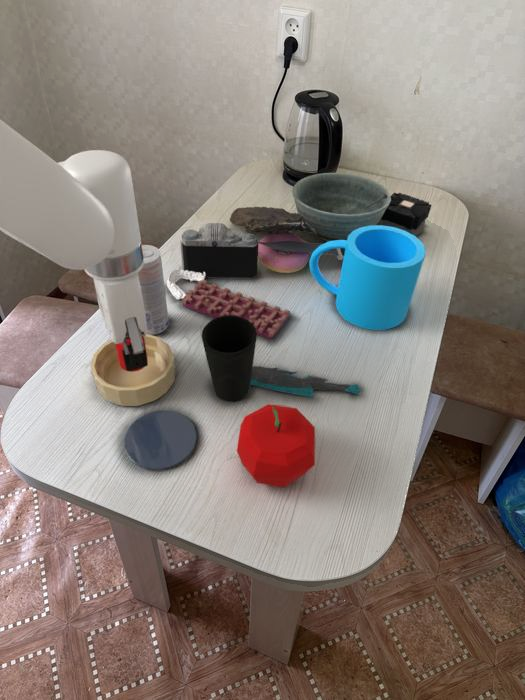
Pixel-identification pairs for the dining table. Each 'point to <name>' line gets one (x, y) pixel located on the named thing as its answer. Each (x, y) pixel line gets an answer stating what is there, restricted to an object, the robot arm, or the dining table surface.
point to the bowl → (339, 203)
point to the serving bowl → (134, 374)
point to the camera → (219, 252)
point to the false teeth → (179, 273)
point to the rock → (270, 220)
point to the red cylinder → (120, 355)
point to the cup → (230, 355)
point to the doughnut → (282, 254)
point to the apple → (276, 445)
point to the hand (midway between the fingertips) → (132, 355)
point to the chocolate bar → (236, 308)
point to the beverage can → (153, 290)
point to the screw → (378, 200)
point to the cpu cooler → (406, 213)
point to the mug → (374, 275)
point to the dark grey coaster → (160, 440)
